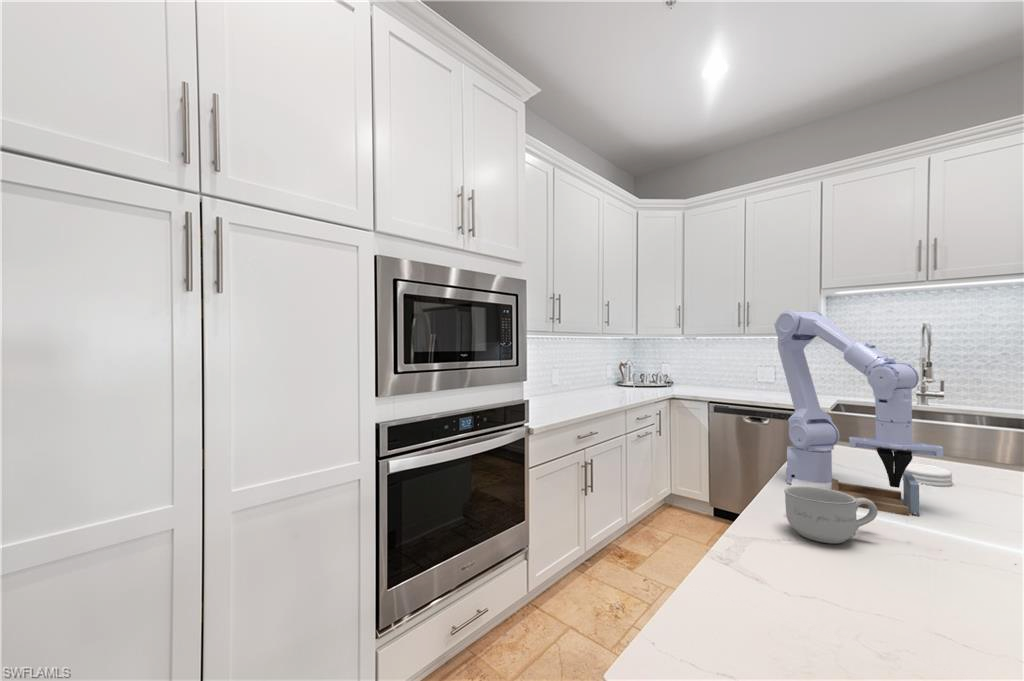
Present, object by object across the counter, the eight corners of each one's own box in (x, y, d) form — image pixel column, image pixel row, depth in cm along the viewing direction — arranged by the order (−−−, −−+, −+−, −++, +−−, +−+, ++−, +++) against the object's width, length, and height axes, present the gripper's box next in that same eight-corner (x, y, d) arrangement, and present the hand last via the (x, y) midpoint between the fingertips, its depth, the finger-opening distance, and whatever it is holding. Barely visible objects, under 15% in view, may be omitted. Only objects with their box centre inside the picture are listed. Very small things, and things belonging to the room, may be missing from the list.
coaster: (902, 473, 117) (902, 460, 117) (954, 482, 109) (954, 468, 109) (895, 480, 110) (895, 467, 110) (950, 490, 103) (950, 476, 103)
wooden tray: (832, 509, 90) (832, 492, 90) (831, 493, 100) (831, 478, 100) (909, 523, 83) (909, 505, 83) (900, 505, 92) (900, 489, 92)
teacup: (787, 542, 75) (787, 496, 75) (781, 519, 85) (781, 479, 85) (889, 560, 69) (889, 511, 69) (870, 534, 78) (870, 490, 78)
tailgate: (911, 517, 83) (911, 484, 83) (903, 501, 92) (903, 471, 92) (919, 519, 82) (919, 485, 82) (910, 503, 91) (910, 472, 91)
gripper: (849, 420, 90) (850, 484, 90) (946, 427, 81) (947, 498, 81) (848, 415, 96) (849, 476, 95) (938, 422, 87) (939, 489, 87)
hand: (894, 486), depth 89 cm, fingers closed
